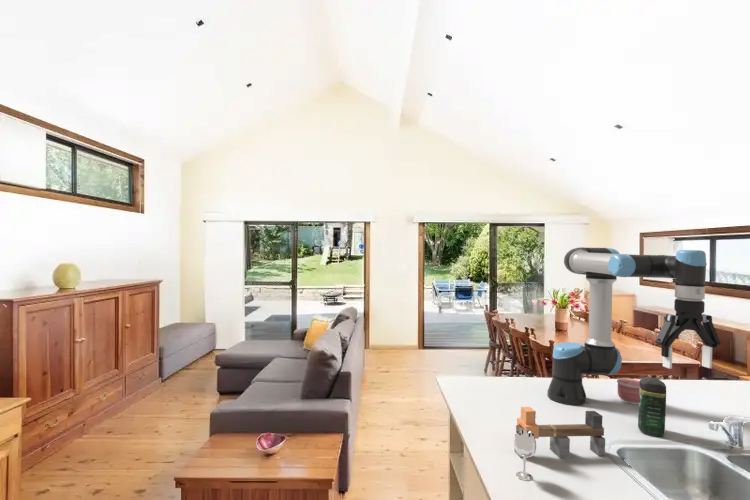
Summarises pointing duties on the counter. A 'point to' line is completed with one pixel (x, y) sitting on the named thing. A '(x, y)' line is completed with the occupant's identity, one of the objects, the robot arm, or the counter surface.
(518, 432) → the wineglass
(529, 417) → the rider
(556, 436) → the beam
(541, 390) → the counter surface
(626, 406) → the counter surface
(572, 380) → the robot arm
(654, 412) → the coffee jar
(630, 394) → the container
